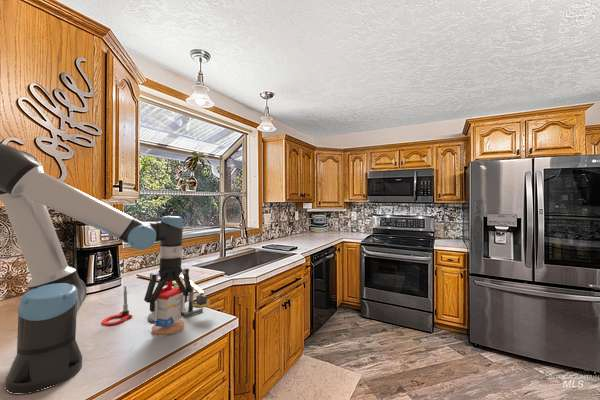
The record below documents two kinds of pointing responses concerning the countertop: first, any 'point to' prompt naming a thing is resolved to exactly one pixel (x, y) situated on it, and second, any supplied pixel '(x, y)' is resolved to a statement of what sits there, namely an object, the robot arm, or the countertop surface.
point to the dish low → (168, 329)
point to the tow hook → (124, 313)
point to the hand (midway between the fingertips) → (168, 315)
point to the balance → (200, 300)
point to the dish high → (150, 318)
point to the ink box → (168, 305)
